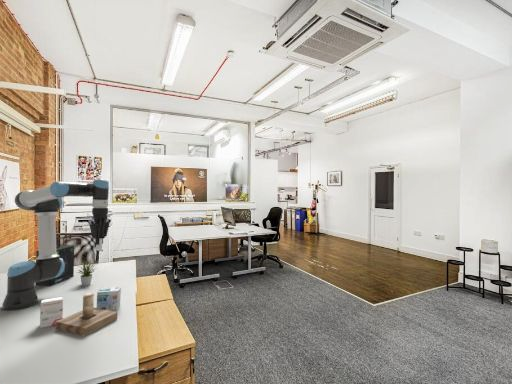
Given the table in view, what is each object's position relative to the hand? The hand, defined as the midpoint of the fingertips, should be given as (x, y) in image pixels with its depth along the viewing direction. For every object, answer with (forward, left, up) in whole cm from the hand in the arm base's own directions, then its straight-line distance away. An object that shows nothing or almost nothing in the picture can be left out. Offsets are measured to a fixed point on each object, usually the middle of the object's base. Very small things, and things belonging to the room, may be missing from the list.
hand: (98, 250), depth 148 cm
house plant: (-42, +30, -33) cm, 61 cm away
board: (+10, -14, -32) cm, 37 cm away
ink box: (-6, -20, -33) cm, 39 cm away
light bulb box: (+5, +3, -33) cm, 33 cm away
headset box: (-70, +27, -33) cm, 82 cm away
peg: (+10, -14, -32) cm, 37 cm away
